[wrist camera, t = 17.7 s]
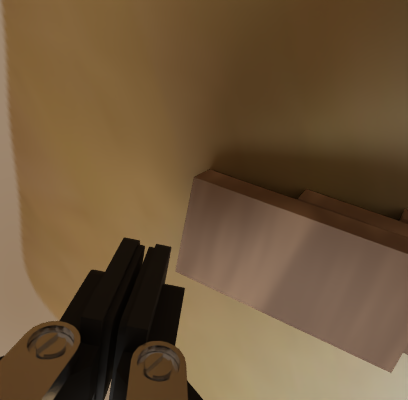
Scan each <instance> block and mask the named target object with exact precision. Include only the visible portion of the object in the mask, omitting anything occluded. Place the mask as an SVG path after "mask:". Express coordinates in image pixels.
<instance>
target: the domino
mask: <svg viewBox="0 0 408 400" xmlns="http://www.w3.org/2000/svg"><path fill="white" fill-rule="evenodd" d="M176 272H178V273H180V274H182V275H184V276H186V277H188V278H190V279H193V280H195V281H197V282H199V283H201V284H203V285H205V286H207V287H210V288H212V289H214V290H216V291H218V292H220V293H222V294H225V295H227V296H229V297H231V298H233V299H235V300H237V301H239V302H242V303H244V304H246V305H248V306H250V307H252V308H254V309H256V310H259V311H261V312H263V313H265V314H267V315H269V316H271V317H273V318H276V319H278V320H280V321H282V322H284V323H286V324H288V325H290V326H293V327H295V328H297V329H299V330H301V331H303V332H305V333H307V334H310V335H312V336H314V337H316V338H318V339H320V340H322V341H324V342H327V343H329V344H331V345H333V346H335V347H337V348H339V349H341V350H344V351H346V352H348V353H350V354H352V355H354V356H356V357H358V358H361V359H363V360H365V361H367V362H369V363H371V364H373V365H375V366H378V367H380V368H382V369H384V370H386V371H388V372H390V373H391V372H392V371H393V369H394V367H395V365H396V364H397V362H398V360H399V358H400V357H401V355H402V353H403V351H404V350H405V348H406V346H407V345H408V238H406V237H403V236H400V235H397V234H395V233H392V232H389V231H386V230H383V229H380V228H377V227H374V226H371V225H369V224H366V223H363V222H360V221H357V220H354V219H351V218H348V217H346V216H343V215H340V214H337V213H334V212H331V211H328V210H325V209H322V208H320V207H317V206H314V205H311V204H308V203H305V202H302V201H299V200H296V199H294V198H291V197H288V196H285V195H282V194H279V193H276V192H273V191H270V190H268V189H265V188H262V187H259V186H256V185H253V184H250V183H247V182H245V181H242V180H239V179H236V178H233V177H230V176H227V175H224V174H221V173H219V172H216V171H213V170H210V169H209V170H207V171H205V172H203V173H201V174H199V175H197V176H195V177H194V180H193V185H192V190H191V195H190V200H189V205H188V210H187V215H186V220H185V225H184V230H183V235H182V240H181V245H180V250H179V255H178V260H177V265H176Z"/></svg>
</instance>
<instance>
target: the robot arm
mask: <svg viewBox="0 0 408 400" xmlns="http://www.w3.org/2000/svg"><path fill="white" fill-rule="evenodd" d="M144 250H145V246H143V245H140V240H135V239H130V238H123V240H122V242H121V244H120V246H119V247H118V249H117V251H116V253H115V255H114V257H113V258H112V260H111V262H110V264H109V266H108V268H107V269H106V271H105V272H103V271H98V270H91V271H90V272H89V274H88V275H87V277H86V279H85V280H84V282H83V283H82V285H81V287H80V288H79V290H78V292H77V293H76V295H75V296H74V298H73V300H72V301H71V303H70V305H69V306H68V308H67V310H66V311H65V313H64V314H63V316H62V318H61V319H60V321H51V322H46V323H42V324H40V325H37V326H35V327H33V328H32V329H31V330H29V331H28V332H27V333H26V334H25V335H24V336H23V337H22V338H21V339H20V340H19V341H18V342H17V343H16V345H14V346H13V347H12V349H11V350H10V351H9V352H8V353H7V354H6V355H5V356H2V357H0V400H104V399H105V396H106V394H107V391H108V388H109V385H110V382H111V388H110V396H109V400H203V399H202V398H201V397H200V395H199V394H198V393H197V392H196V391H195V389H194V388H193V387H192V386H191V385H190V383H189V382H188V381H187V371H186V361H185V357H184V356H183V354H182V352H181V351H180V350H179V349H178V348H177V347H175V342H176V337H177V331H178V325H179V319H180V313H181V308H182V302H183V296H184V290H185V288H183V287H178V286H173V285H168V284H165V279H166V274H167V268H168V263H169V258H170V252H171V247H169V246H164V245H159V244H156V246H155V248H153V247H149V249H148V251H147V254H146V256H145V259H144V261H143V257H144ZM142 263H143V264H142ZM111 379H112V381H111Z"/></svg>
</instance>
